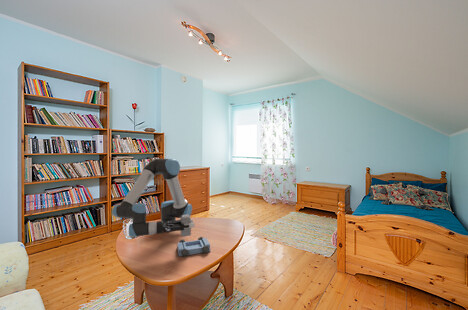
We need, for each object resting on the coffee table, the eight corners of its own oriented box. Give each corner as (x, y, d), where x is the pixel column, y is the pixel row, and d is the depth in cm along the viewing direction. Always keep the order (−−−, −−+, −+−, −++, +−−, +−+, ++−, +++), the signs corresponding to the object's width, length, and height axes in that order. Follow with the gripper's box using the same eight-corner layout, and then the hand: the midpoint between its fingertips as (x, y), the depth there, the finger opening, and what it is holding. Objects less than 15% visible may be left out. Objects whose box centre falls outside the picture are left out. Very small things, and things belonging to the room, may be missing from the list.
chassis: (177, 246, 145) (177, 240, 145) (205, 242, 152) (205, 236, 151) (179, 257, 130) (179, 250, 129) (211, 252, 136) (211, 245, 136)
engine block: (180, 233, 140) (180, 214, 139) (189, 232, 141) (189, 213, 141) (181, 236, 134) (181, 217, 134) (190, 235, 136) (190, 216, 136)
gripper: (156, 228, 141) (191, 224, 148) (155, 239, 123) (195, 234, 130) (156, 217, 141) (191, 213, 148) (155, 226, 123) (195, 222, 130)
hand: (193, 223), depth 139 cm, fingers closed on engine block, 6 cm apart
